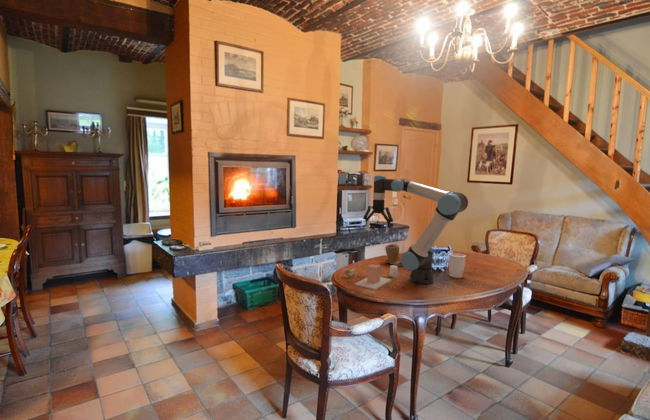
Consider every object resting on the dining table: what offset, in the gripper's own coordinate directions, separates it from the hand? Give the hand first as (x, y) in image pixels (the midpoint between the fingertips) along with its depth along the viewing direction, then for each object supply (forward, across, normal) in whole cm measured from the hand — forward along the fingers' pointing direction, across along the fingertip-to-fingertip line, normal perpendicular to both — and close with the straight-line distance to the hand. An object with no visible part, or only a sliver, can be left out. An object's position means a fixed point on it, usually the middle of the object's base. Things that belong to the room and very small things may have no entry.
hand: (377, 231), depth 239 cm
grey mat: (+30, -5, +15) cm, 34 cm away
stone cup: (+30, 0, -35) cm, 46 cm away
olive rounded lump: (+30, +13, +13) cm, 35 cm away
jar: (+31, -45, -33) cm, 64 cm away
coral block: (+29, -5, +15) cm, 33 cm away
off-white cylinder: (+30, -10, -6) cm, 33 cm away
